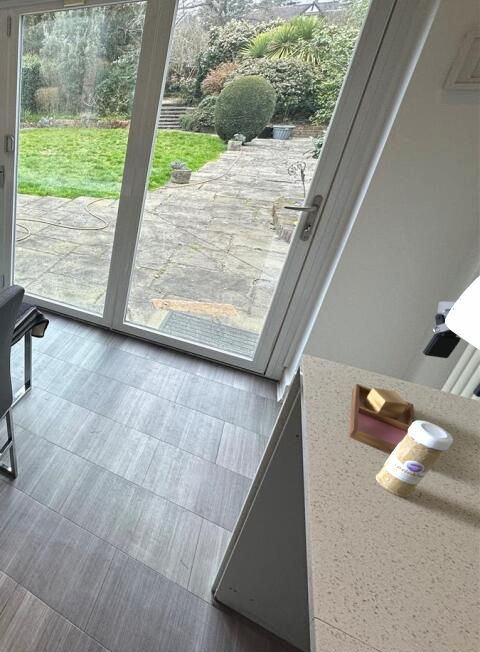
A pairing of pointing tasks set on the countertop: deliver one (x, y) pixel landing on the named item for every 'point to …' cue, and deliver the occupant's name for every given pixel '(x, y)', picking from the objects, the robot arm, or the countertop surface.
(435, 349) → the robot arm
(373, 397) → the oak block
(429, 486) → the countertop surface
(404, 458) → the sprinkles bottle
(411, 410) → the tray
